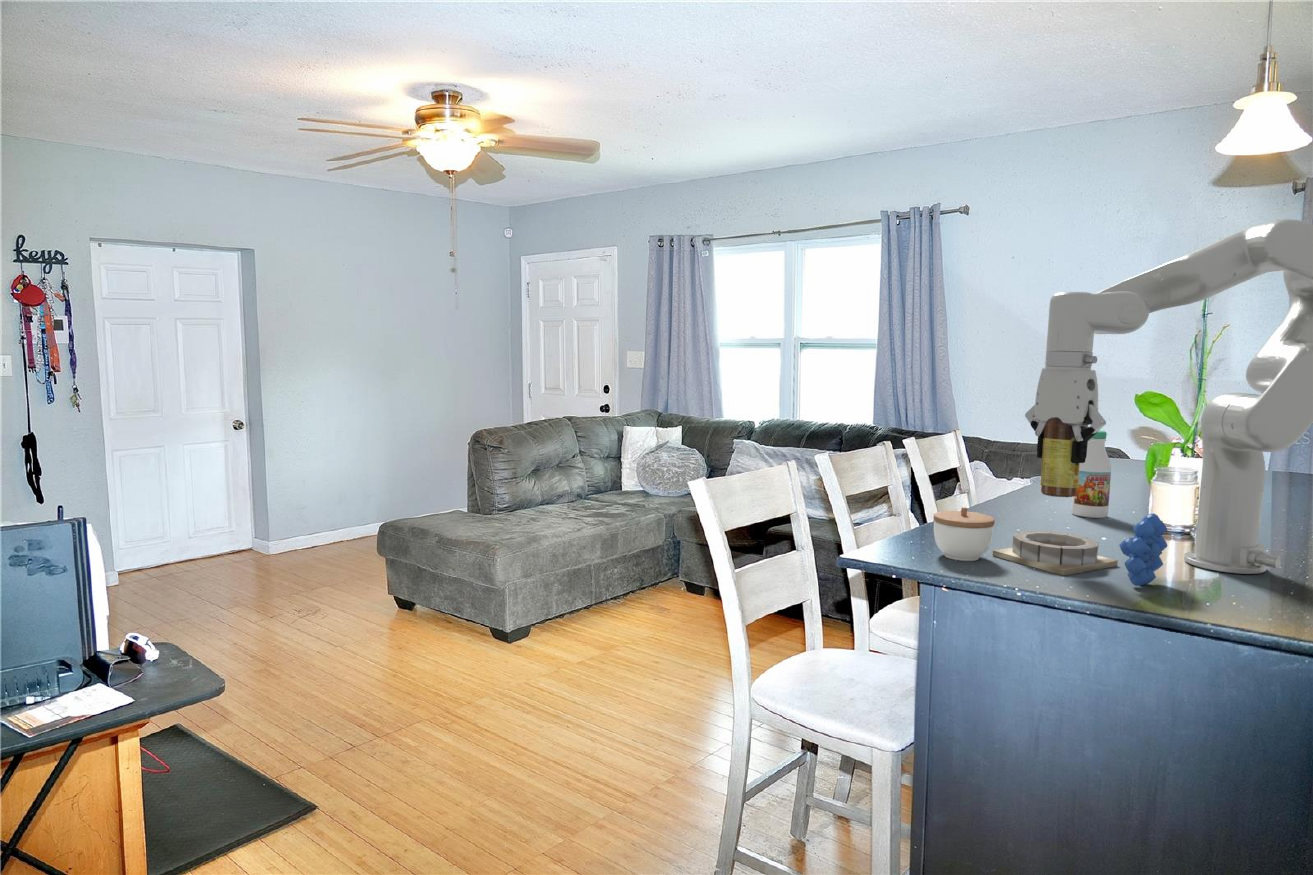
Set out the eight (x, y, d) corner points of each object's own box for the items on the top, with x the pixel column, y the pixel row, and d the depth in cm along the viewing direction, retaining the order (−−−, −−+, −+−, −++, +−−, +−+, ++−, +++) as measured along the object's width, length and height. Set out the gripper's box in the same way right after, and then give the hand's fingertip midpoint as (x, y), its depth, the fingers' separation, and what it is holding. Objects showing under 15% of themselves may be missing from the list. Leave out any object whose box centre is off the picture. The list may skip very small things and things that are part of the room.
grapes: (1130, 573, 150) (1136, 506, 149) (1172, 581, 145) (1178, 512, 144) (1101, 584, 143) (1107, 514, 141) (1145, 594, 138) (1151, 521, 136)
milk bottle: (1063, 512, 203) (1069, 429, 200) (1089, 511, 205) (1095, 428, 203) (1088, 519, 195) (1095, 432, 193) (1115, 517, 198) (1122, 432, 195)
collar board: (1117, 565, 155) (1119, 544, 154) (1063, 575, 148) (1065, 553, 147) (1045, 547, 168) (1046, 527, 167) (992, 555, 161) (993, 534, 160)
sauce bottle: (1081, 499, 152) (1090, 388, 150) (1044, 497, 154) (1052, 387, 151) (1071, 493, 159) (1080, 386, 156) (1035, 491, 160) (1043, 385, 158)
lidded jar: (961, 547, 167) (964, 500, 165) (1005, 561, 157) (1008, 511, 156) (919, 552, 162) (921, 504, 161) (961, 566, 152) (964, 515, 151)
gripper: (1127, 363, 148) (1118, 465, 150) (1040, 360, 163) (1033, 453, 165) (1099, 363, 144) (1091, 468, 146) (1013, 359, 159) (1007, 455, 161)
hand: (1060, 459), depth 156 cm, fingers closed on sauce bottle, 6 cm apart
